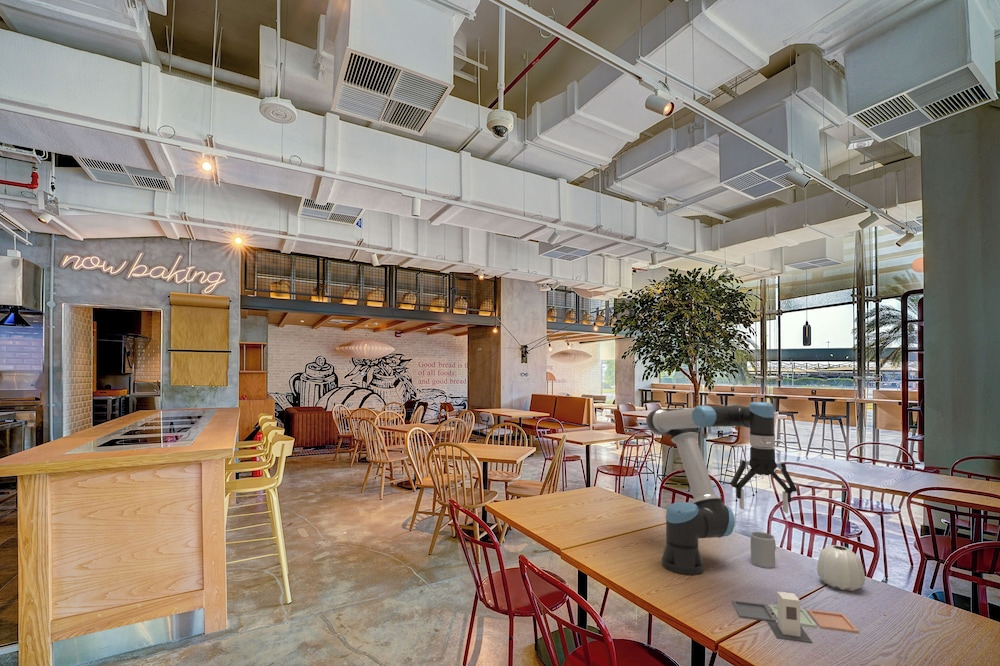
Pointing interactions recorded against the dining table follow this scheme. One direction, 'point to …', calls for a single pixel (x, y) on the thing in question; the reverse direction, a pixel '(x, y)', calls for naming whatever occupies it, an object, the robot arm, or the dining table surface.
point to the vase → (841, 568)
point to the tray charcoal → (753, 611)
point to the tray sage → (804, 617)
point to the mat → (780, 635)
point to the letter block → (788, 613)
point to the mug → (763, 549)
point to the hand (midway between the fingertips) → (763, 510)
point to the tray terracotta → (832, 621)
